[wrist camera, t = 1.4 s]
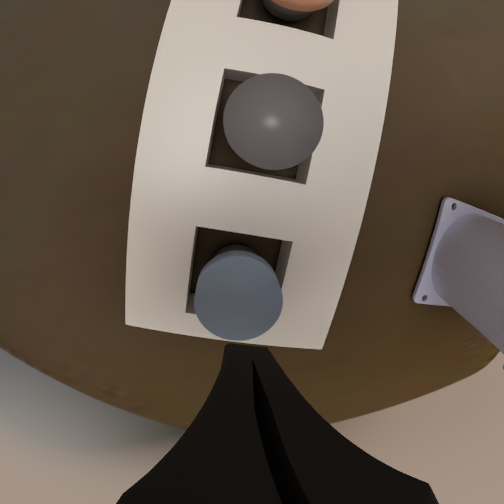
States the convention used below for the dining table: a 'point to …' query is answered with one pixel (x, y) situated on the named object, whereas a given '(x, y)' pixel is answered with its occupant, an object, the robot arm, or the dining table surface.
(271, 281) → the slate blue button
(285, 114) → the charcoal button
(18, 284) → the dining table surface
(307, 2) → the terracotta button
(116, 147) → the dining table surface
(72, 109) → the dining table surface
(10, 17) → the dining table surface
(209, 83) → the button panel
